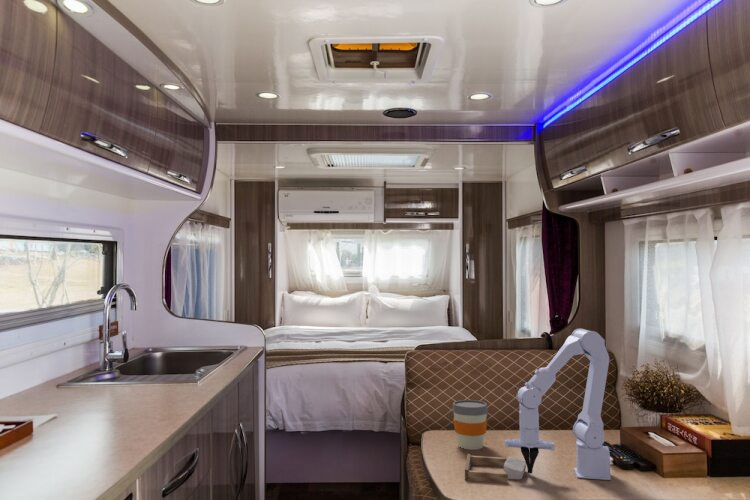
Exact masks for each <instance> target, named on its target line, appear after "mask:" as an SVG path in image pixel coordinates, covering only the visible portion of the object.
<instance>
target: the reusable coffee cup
mask: <svg viewBox="0 0 750 500" xmlns="http://www.w3.org/2000/svg"><path fill="white" fill-rule="evenodd" d="M452 412H453V419H452V420H453V425H454V433H456V440H457V447H459V448H460V447H461V448H460V449H463V448H464V449H463V450H471V451H473V450H476V451H477V450H480V449H482V448H484V443H485V434H486V433H487V427H488V426H487V424H488V419H487V416H488V413H489V410H488V404H487V403H486V402H485V401H482V400H477V399H476V400H474V399H462V400H455V401H453V403H452Z"/></svg>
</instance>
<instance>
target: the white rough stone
mask: <svg viewBox="0 0 750 500" xmlns="http://www.w3.org/2000/svg"><path fill="white" fill-rule="evenodd" d="M506 458H507V460H506V461H505V464H504V467H503V469H504V473H508V480H523V477H524V475H525V472H526V470H527V469H526V468H527V465H526V462H525V460H521V459H519V458H516V457H514V456H510V455H509V456H507V457H506Z"/></svg>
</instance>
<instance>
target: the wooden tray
mask: <svg viewBox="0 0 750 500" xmlns="http://www.w3.org/2000/svg"><path fill="white" fill-rule="evenodd" d="M507 458H508V457H499V456H498V457H497V456H483V455H472V454H471V453H467V455H466V462H465V466H464V480H465V481H477V482H490V483H503V484H504V483H506V484H508V483H509V479H508V473H505V472H498V471H495V472H494V471H482V470H480V471H479V470H470V469H471V465H472V466H473V465H477V466H488V467H489V466H490V467H502V468H504V464H505V461H506V460H507Z"/></svg>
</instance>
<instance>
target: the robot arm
mask: <svg viewBox="0 0 750 500" xmlns="http://www.w3.org/2000/svg"><path fill="white" fill-rule="evenodd" d="M605 343H606V340H605V339H604V338H603V337H602V336H601V335H600V334H599V332H598V331H594V330H589V329H585V328H582V327H581V328H576V329H574V330H573V332H571V335H569V336H568V337H567V338H566V339H565V341H564V343H563V345H562V346H561V347H559V350H558V352H556V354H555V355H554V356H553V358H552V359H551V361H549V363H548V364H547V366H546V367H544V366H543V367H540V368H538V369H537V368H536V369H535V370H534V375H532V377H531V378H530V379H529V380H528V382H527V381H526V382H525V383H524V386H522V387H520V388H519V389H518V391H517V393H516V395H515V397H516V400H517V402H519V403H518V405H519V411H518V413H519V414H518V415H519V416H518V418H519V419H518V420H519V422H518V423H519V438H515V439H505V440H504V447H505V448H517V449H518V448H519V449H520V452H521V454H522V457H523V459H524V461H525V462H526V468H527V469H526V470H527V473H528V474H533V469H534V465H535V462H536V460H537V457H538V456H539V453H540V451H539V450H549V451H555V442H553V441H546V440H540V423H539V422H540V421H539V417H540V416H539V406H540V405H541V404H542V397H543V396H544V395H545V394H546V393H547V391H549V389H550V388H551V387H552V385H553V384H554V383H555V382H556V374H557V373H559V371H560V370H561V369H562V368H563V367H564V366H565V365H566V364H567V363H568V362H569V360H570V359H571V358H572V357H573V356H578V355H582V354H583V355H585V356H586V357H587V359H588V360H589V367H588V373H587V379H586V385H585V393H584V398H583V405H582V411H580V413H578V414H577V420H576V421H575V422H574V424H573V427H572V432H573V435H574V436H575V437H576V442H575V444H576V447H575V448H576V449H575V450H576V467H574V468H573V471H574V472H575V474H576V477H577V479H578V478H579V479H588V480H590V479H591V480H605V481H611V480H612V477H611V454H610V448H609V446H608V445H607V446H605V445H604V443H605V439H606V436H605V431H604V426H605V425H604V421H603V419H602V416H601V415H602V408H603V403H604V396H605V390H606V385H607V384H606V383H607V378H608V371H609V364H610V355H609V353H608V350H607V348H606V344H605Z"/></svg>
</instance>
